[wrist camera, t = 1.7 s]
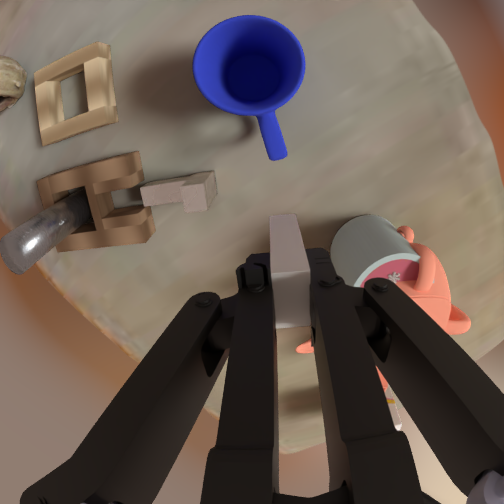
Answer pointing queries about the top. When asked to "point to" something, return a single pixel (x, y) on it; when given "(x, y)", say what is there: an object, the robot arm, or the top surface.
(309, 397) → the top surface
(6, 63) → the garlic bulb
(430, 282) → the teapot
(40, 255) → the peg
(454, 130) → the top surface
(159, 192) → the drift key
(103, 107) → the frame
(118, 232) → the socket block
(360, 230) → the mug
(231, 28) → the mug
